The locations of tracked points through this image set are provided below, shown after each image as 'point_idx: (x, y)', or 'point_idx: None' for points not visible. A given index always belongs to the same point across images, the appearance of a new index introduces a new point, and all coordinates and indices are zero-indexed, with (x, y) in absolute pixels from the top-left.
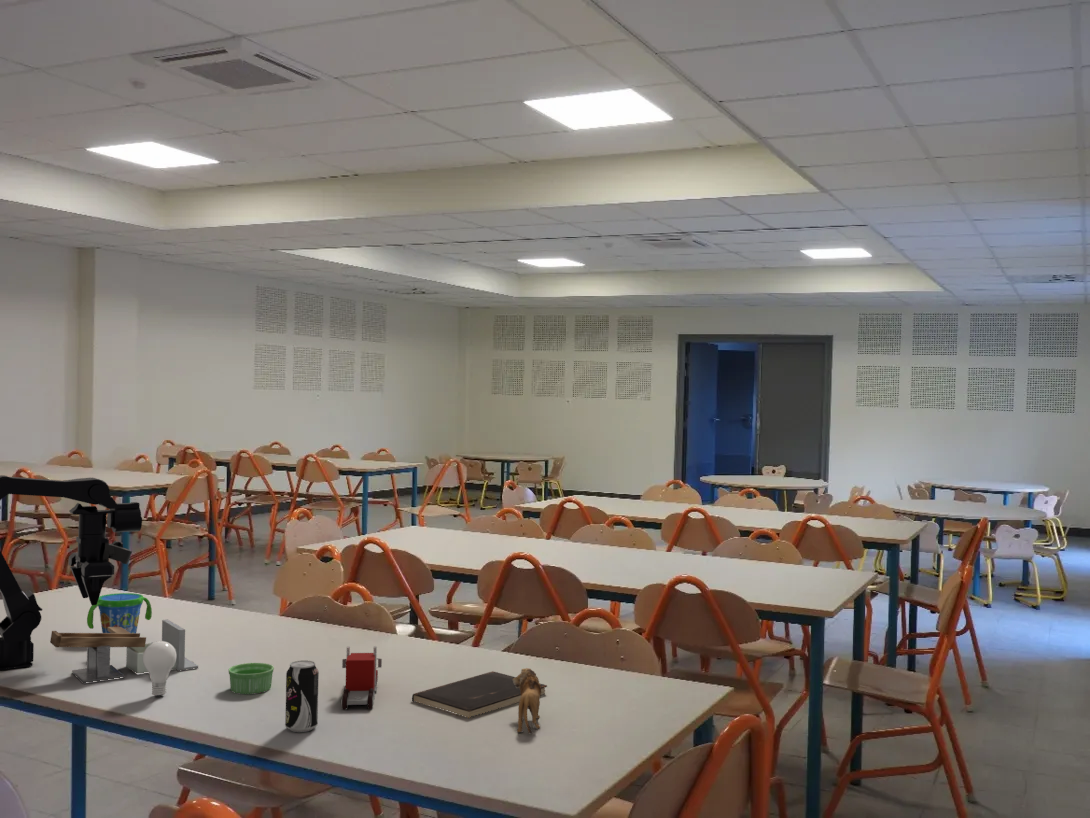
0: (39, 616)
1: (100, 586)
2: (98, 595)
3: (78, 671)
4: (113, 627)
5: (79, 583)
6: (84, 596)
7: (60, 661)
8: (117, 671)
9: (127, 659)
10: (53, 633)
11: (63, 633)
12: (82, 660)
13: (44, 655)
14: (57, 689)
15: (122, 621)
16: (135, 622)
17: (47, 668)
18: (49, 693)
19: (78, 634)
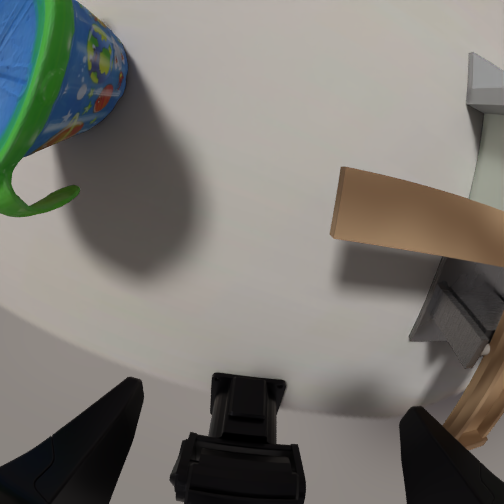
0: (298, 486)
1: (491, 488)
2: (455, 447)
3: (431, 333)
4: (352, 215)
5: (108, 491)
6: (140, 401)
7: (279, 325)
8: (495, 268)
9: None
10: None
11: (460, 435)
12: (313, 280)
13: (182, 329)
14: (465, 372)
15: (99, 73)
16: (100, 21)
17: (325, 362)
18: (468, 382)
19: (479, 405)
